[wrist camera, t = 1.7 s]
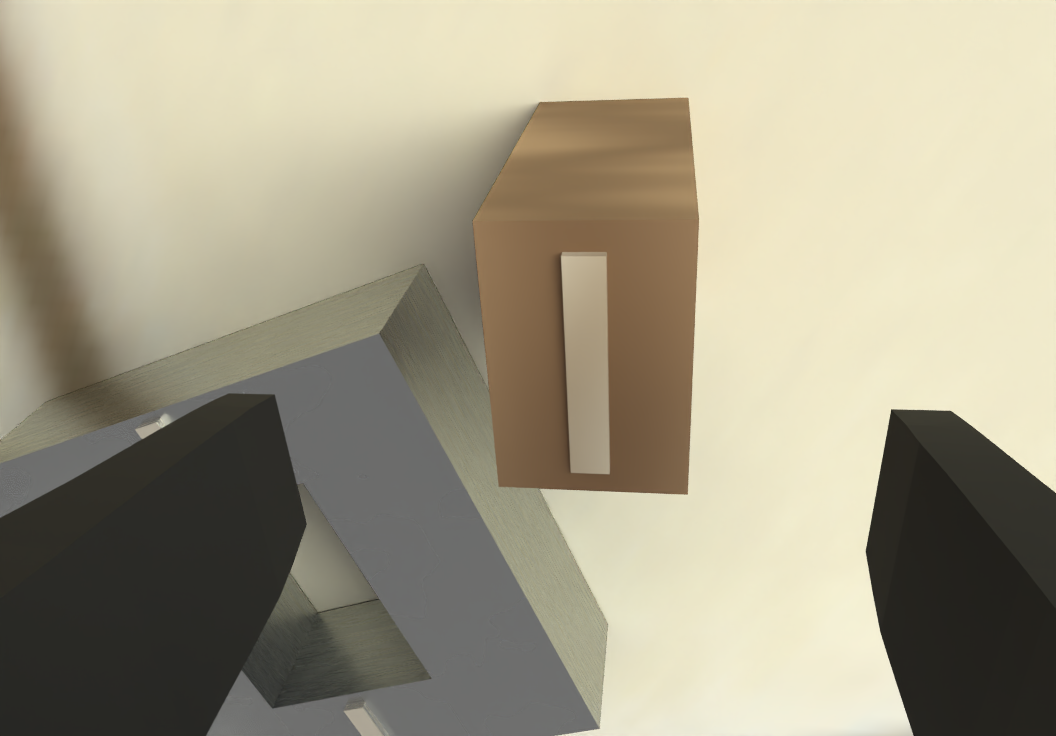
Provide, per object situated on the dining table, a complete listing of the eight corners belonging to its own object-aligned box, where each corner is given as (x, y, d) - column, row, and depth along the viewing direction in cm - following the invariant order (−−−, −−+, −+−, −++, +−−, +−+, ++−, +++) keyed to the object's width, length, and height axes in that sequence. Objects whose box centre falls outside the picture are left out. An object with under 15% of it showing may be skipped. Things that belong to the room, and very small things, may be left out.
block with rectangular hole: (423, 263, 20) (376, 338, 16) (608, 624, 24) (599, 735, 21) (46, 401, 23) (-52, 484, 20) (272, 690, 28) (221, 793, 25)
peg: (688, 97, 17) (699, 223, 11) (681, 300, 19) (687, 500, 13) (540, 102, 17) (470, 224, 11) (550, 300, 20) (497, 492, 14)
